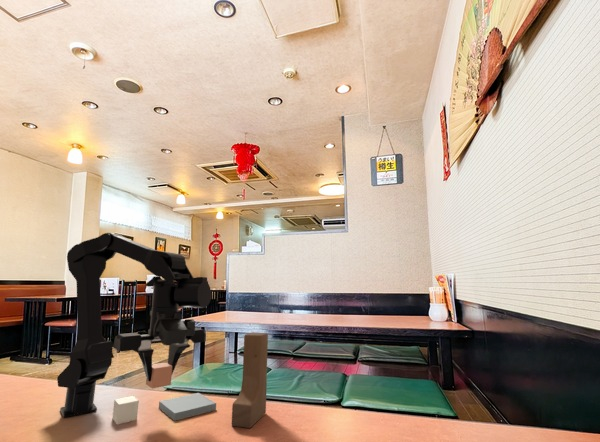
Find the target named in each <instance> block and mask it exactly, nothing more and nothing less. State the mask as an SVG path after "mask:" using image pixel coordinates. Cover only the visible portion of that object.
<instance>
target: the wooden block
mask: <svg viewBox="0 0 600 442" xmlns="http://www.w3.org/2000/svg"><path fill="white" fill-rule="evenodd" d="M243 337H244V338H243V340H244V341H243V356H242V357H243V358H242V359H243V360H242V362H243V363H242V380H241V387H240V392H239V394H238V397H237V398H236V399H235V401H234V402H232V405H231V406H232V407H231V426H232V427H237V428H239V427H240V428H246V429H251V428H253V426H254V425H255V424H256V423H257V422H258V421H259V420H260V419H261V418H262V417H263V416H264V415H265V414H266V411H267V387H268V386H267V384H268V383H267V380H268V379H267V377H268V376H267V375H268V349H269V348H268V344H269V343H268V342H269V334H268V333H267V332H254V331H253V332H248V333H247V334H244V336H243Z"/></svg>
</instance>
